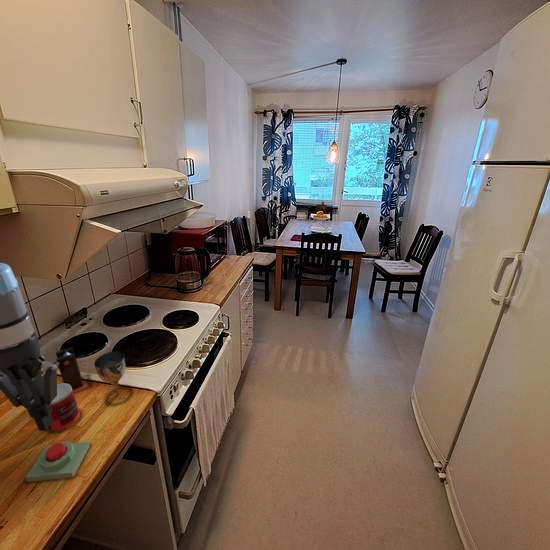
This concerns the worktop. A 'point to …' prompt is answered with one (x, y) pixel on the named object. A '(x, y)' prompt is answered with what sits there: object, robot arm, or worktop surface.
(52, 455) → the button
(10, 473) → the worktop surface
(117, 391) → the wine glass
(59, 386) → the canned food
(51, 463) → the button box
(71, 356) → the dark brown boxy piece
